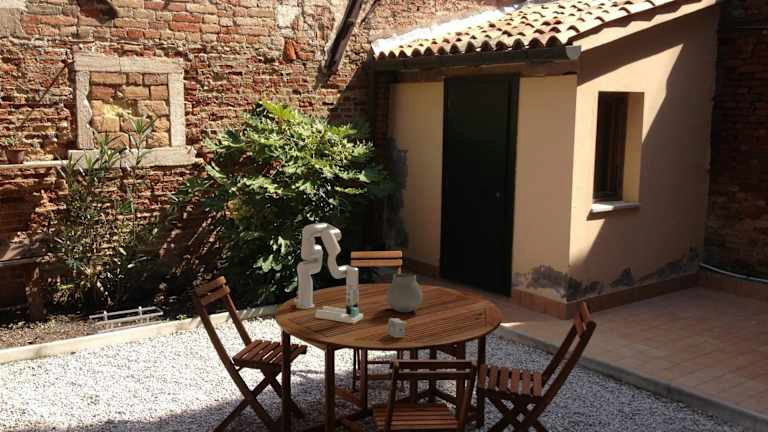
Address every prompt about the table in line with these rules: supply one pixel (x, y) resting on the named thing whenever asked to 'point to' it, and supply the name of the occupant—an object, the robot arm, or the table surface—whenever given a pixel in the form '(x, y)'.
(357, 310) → the block
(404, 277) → the ceramic pot
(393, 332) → the incense holder
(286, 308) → the table surface
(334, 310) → the deck
